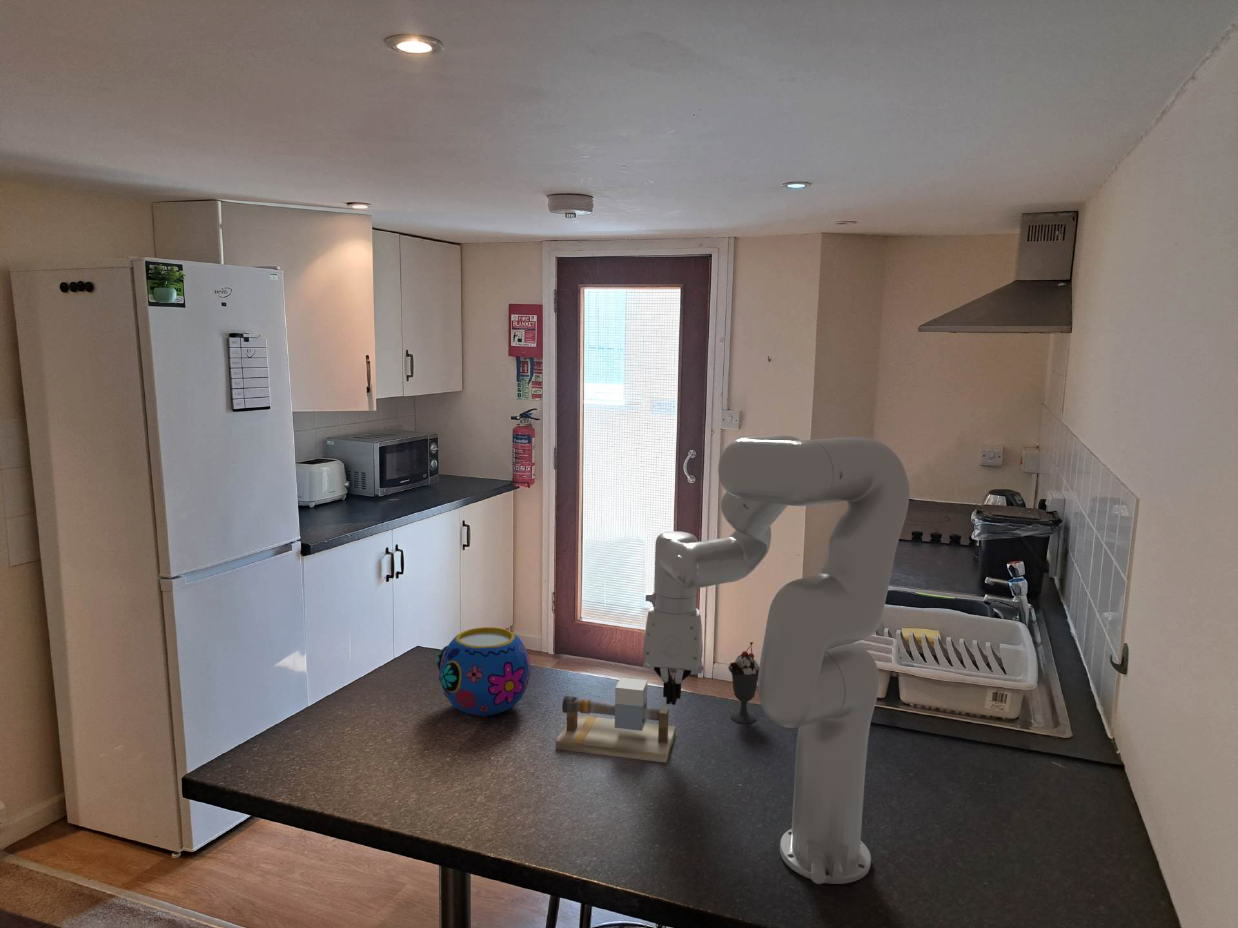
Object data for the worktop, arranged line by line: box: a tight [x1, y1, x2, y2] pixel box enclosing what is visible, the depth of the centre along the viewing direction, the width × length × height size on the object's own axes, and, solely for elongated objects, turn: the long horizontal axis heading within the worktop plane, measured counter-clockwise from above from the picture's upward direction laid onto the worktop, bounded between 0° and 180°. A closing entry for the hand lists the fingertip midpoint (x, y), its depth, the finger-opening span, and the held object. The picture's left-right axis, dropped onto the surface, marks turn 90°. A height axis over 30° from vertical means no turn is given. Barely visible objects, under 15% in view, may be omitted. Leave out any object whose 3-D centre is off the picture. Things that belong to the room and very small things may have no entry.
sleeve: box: [614, 677, 649, 731], centre depth 148 cm, size 5×5×8 cm
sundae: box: [727, 641, 759, 725], centre depth 159 cm, size 7×7×15 cm
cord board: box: [555, 695, 676, 764], centre depth 149 cm, size 11×20×8 cm, turn 78°
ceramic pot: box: [436, 626, 532, 716], centre depth 161 cm, size 18×18×15 cm
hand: (671, 701), depth 147 cm, fingers closed
